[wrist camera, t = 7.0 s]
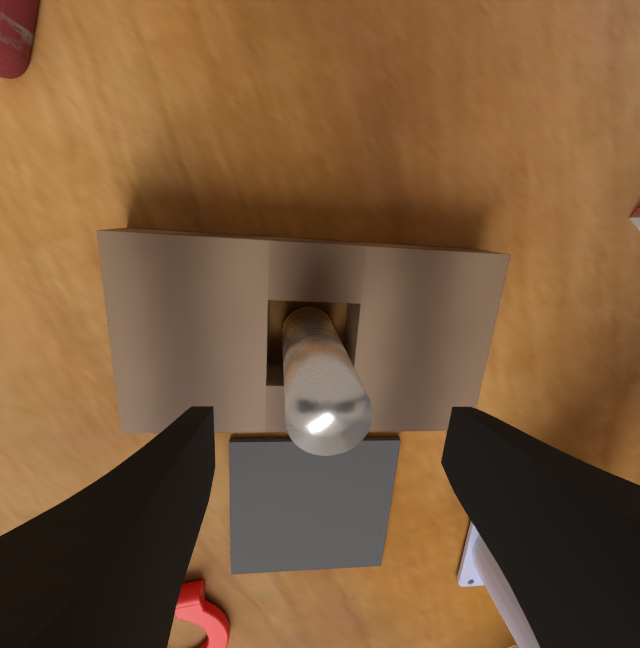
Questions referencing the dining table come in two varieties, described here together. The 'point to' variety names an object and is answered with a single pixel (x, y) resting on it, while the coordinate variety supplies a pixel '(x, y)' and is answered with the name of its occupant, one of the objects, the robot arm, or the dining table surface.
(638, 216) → the tea bag
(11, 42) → the pliers
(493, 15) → the dining table surface
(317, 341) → the peg
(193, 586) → the tow hook
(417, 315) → the hole block
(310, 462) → the mat
